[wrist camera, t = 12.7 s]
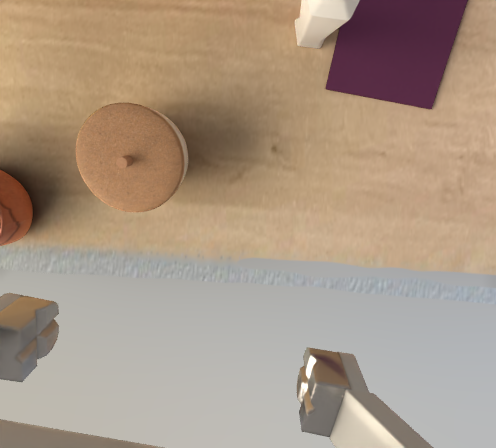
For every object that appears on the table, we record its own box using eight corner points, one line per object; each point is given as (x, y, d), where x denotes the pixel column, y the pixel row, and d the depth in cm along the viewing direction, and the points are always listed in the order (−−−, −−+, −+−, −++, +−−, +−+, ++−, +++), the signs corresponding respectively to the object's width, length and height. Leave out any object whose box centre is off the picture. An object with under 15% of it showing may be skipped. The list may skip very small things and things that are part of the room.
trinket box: (107, 100, 38) (60, 95, 29) (199, 110, 38) (180, 108, 29) (110, 191, 42) (69, 211, 33) (195, 200, 41) (176, 222, 33)
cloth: (467, -4, 34) (469, -5, 33) (430, 109, 37) (431, 109, 37) (352, -26, 33) (353, -28, 33) (325, 89, 37) (325, 88, 37)
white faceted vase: (302, -5, 34) (329, -91, 20) (339, 16, 35) (392, -55, 20) (281, 40, 36) (293, -11, 21) (317, 60, 36) (353, 22, 22)
